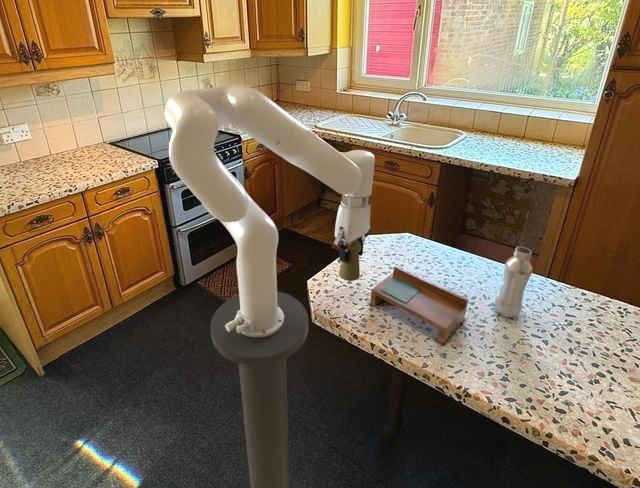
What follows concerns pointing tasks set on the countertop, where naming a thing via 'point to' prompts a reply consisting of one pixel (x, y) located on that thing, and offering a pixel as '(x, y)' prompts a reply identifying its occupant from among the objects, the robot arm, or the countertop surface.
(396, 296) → the wooden shelf
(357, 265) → the cork
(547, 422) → the countertop surface
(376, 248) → the countertop surface
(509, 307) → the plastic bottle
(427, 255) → the countertop surface
